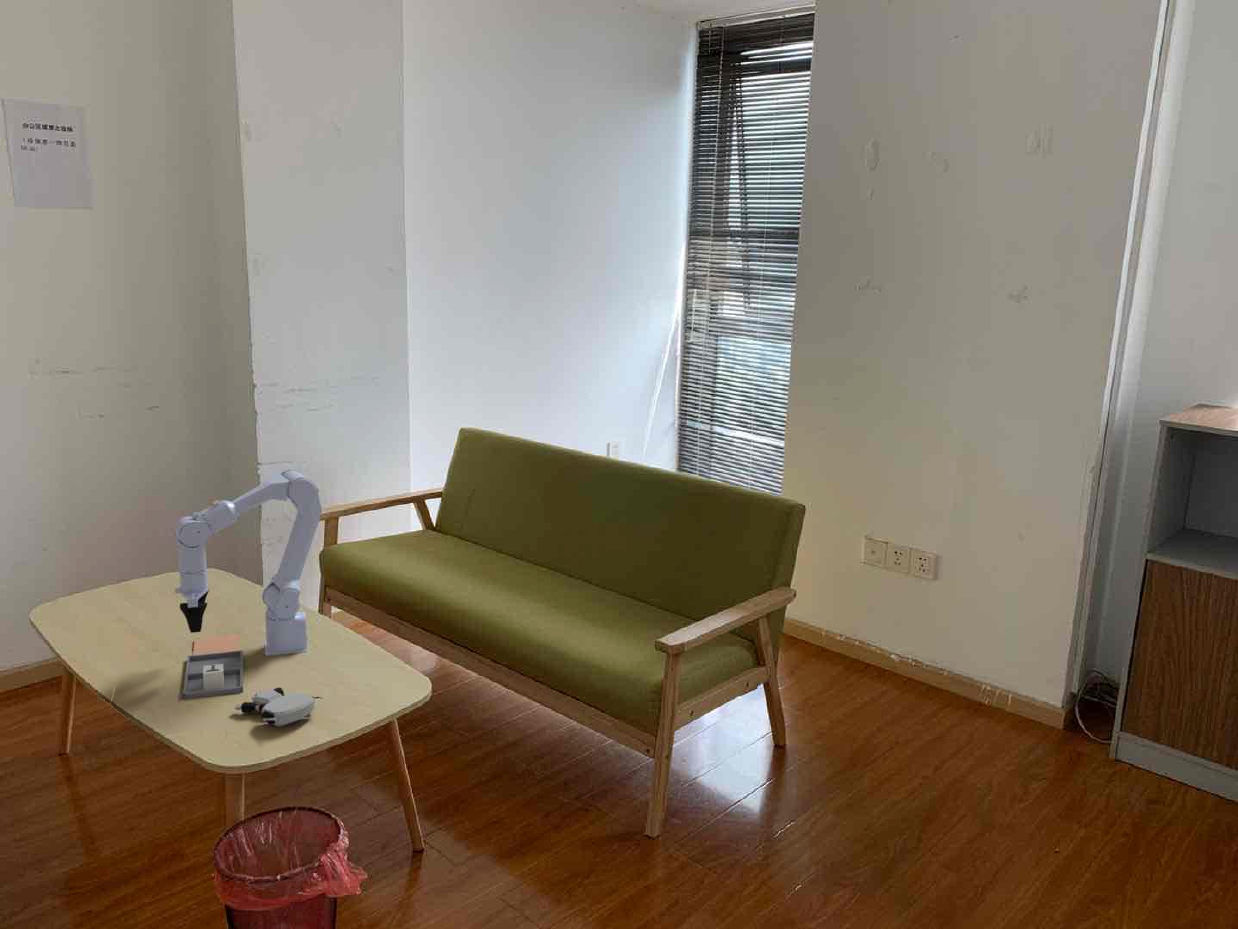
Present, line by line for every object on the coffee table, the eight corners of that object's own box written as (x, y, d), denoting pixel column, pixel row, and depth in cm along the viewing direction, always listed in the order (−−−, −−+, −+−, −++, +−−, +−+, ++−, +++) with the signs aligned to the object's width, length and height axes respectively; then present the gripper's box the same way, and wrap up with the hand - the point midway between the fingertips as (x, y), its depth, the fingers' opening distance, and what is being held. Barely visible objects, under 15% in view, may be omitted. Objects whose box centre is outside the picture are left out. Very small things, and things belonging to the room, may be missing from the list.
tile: (238, 636, 237) (238, 634, 237) (238, 653, 228) (238, 650, 228) (195, 641, 233) (194, 638, 233) (193, 657, 224) (192, 655, 224)
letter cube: (223, 680, 213) (223, 663, 212) (223, 688, 209) (222, 671, 209) (204, 682, 212) (203, 665, 211) (203, 690, 208) (202, 673, 207)
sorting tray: (242, 656, 226) (242, 650, 226) (243, 693, 208) (242, 687, 208) (188, 661, 222) (187, 655, 222) (183, 700, 204) (182, 694, 204)
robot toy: (231, 720, 199) (278, 737, 191) (229, 700, 198) (276, 716, 190) (279, 698, 209) (326, 714, 201) (278, 679, 208) (324, 694, 200)
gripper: (176, 560, 220) (179, 615, 223) (170, 582, 207) (175, 639, 210) (209, 558, 222) (212, 612, 226) (206, 579, 209) (209, 636, 212)
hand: (196, 625), depth 218 cm, fingers open, 7 cm apart
